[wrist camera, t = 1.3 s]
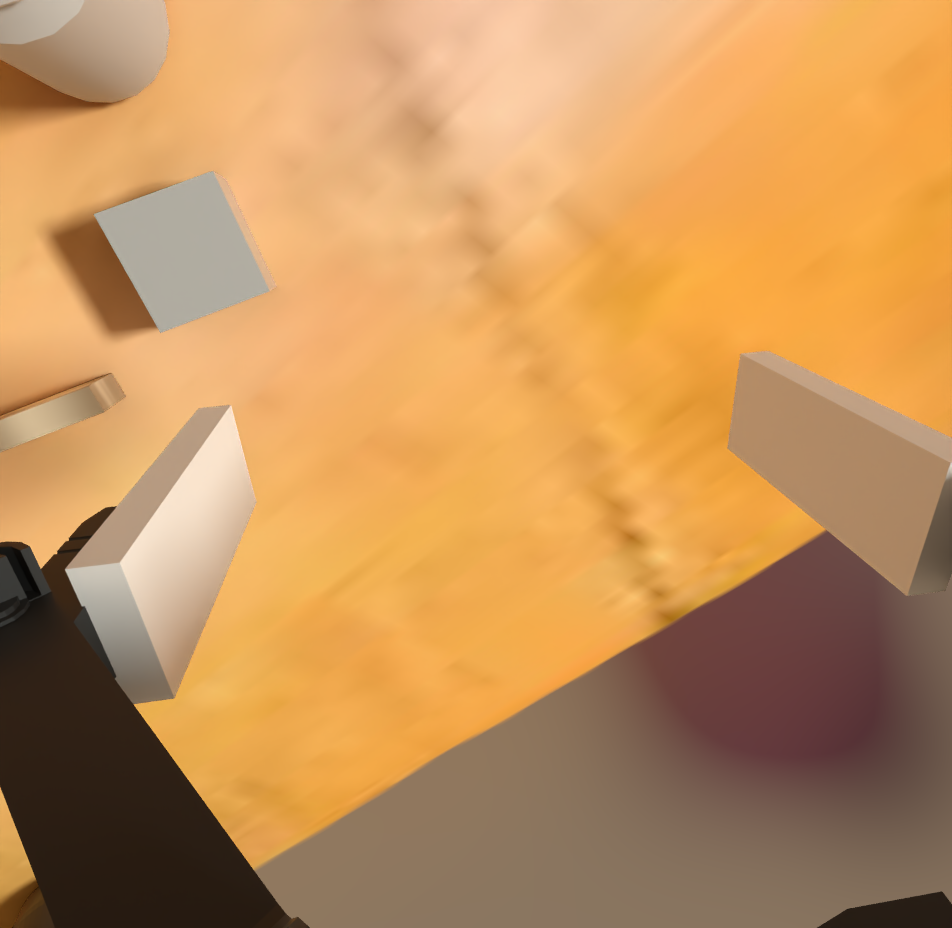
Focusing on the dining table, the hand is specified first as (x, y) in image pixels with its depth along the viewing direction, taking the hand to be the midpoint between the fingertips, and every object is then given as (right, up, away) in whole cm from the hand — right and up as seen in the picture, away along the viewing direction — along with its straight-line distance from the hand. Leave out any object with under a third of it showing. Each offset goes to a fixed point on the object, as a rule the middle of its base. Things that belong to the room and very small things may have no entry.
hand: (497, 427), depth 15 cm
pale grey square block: (-16, +11, +18) cm, 26 cm away
